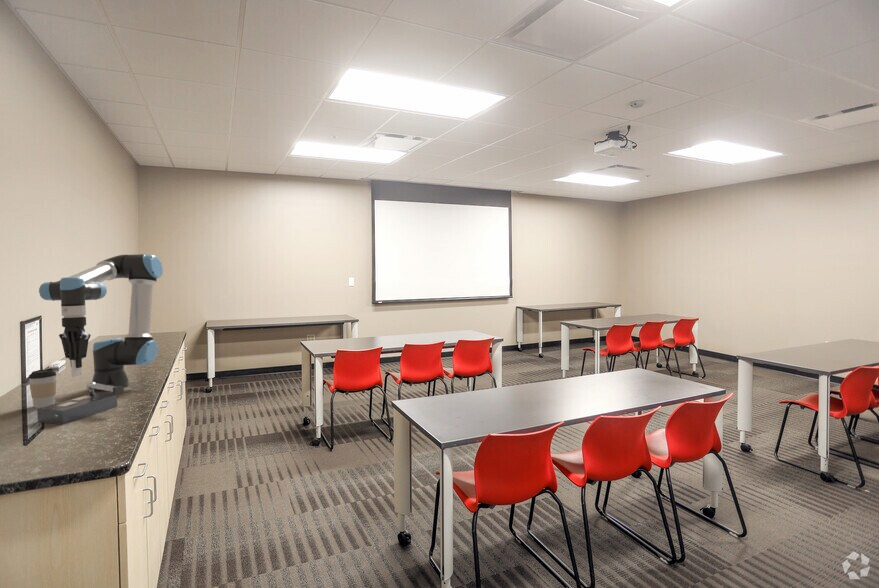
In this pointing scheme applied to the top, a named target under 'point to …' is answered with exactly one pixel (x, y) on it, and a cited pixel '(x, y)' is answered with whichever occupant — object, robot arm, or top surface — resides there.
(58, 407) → the lever switch
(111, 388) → the grey long bar
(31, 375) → the coffee cup
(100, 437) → the top surface
